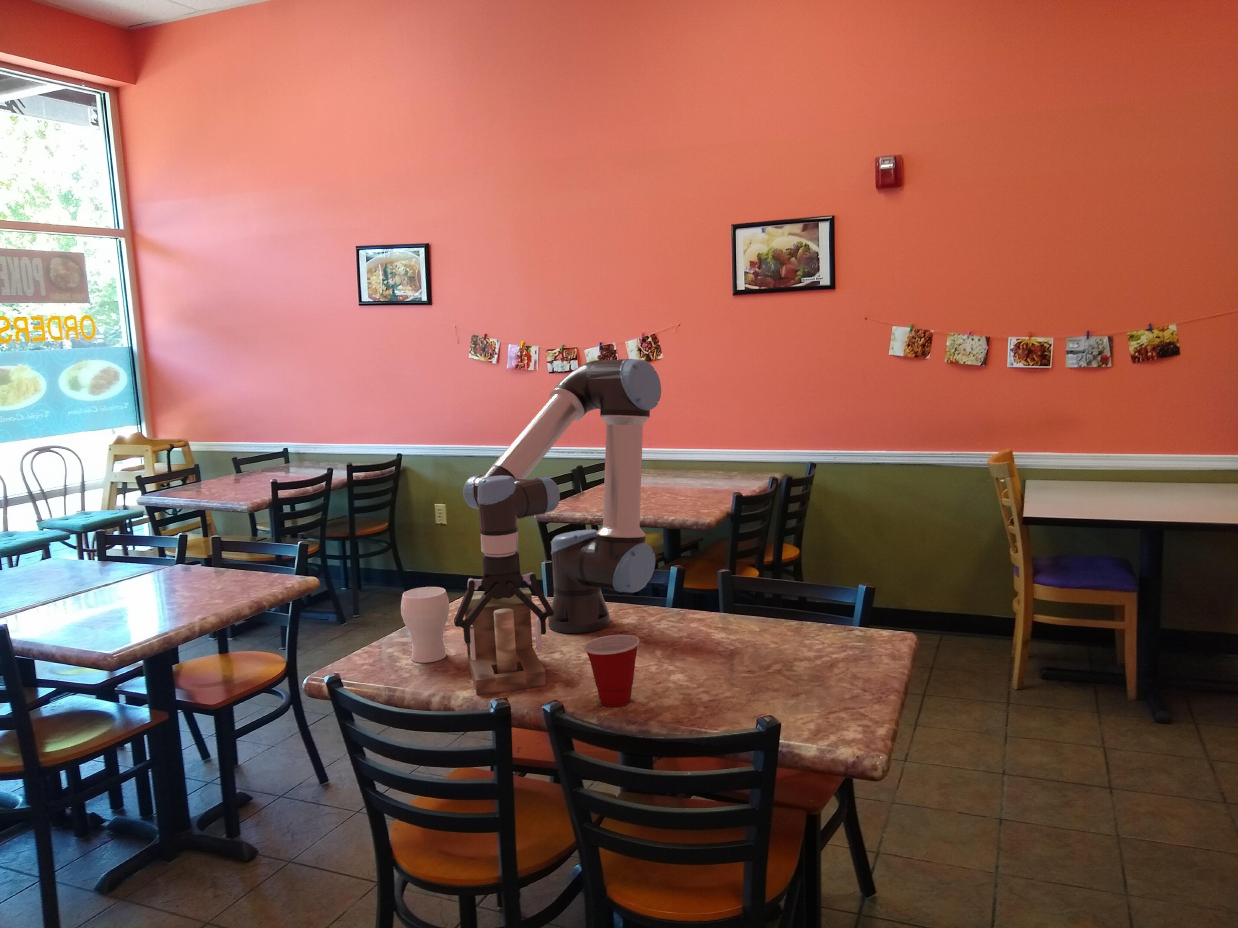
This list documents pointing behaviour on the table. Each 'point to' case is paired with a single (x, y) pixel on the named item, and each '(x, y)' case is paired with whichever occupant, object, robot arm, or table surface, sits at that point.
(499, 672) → the peg
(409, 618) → the cup
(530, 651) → the socket block
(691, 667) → the table surface
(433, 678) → the table surface
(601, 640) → the plastic cup
